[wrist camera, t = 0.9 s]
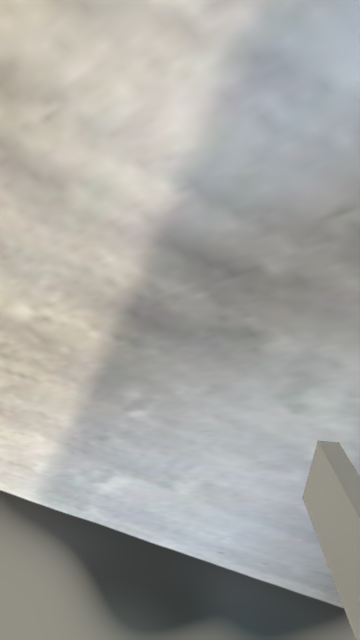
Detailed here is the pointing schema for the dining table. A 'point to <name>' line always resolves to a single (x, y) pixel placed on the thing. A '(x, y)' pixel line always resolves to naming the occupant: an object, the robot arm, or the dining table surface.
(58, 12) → the dining table surface
